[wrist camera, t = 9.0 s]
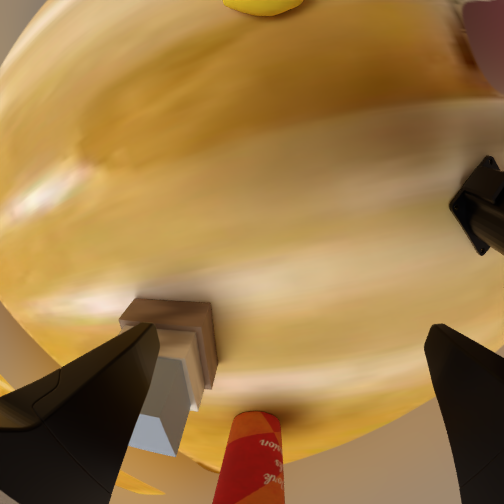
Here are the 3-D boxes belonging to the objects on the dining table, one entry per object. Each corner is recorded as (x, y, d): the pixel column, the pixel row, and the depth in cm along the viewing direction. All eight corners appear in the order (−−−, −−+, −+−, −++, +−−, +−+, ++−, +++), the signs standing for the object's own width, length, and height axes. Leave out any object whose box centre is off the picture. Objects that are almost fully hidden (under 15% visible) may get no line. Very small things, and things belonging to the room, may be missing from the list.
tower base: (210, 302, 23) (191, 353, 17) (218, 363, 26) (205, 415, 20) (135, 297, 24) (101, 341, 18) (151, 356, 27) (127, 402, 21)
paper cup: (287, 439, 30) (285, 535, 18) (227, 437, 31) (211, 531, 18) (291, 405, 28) (291, 522, 15) (220, 402, 28) (197, 516, 15)
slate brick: (181, 360, 18) (159, 418, 13) (190, 405, 20) (175, 456, 15) (116, 350, 18) (85, 398, 13) (133, 394, 20) (111, 440, 15)
